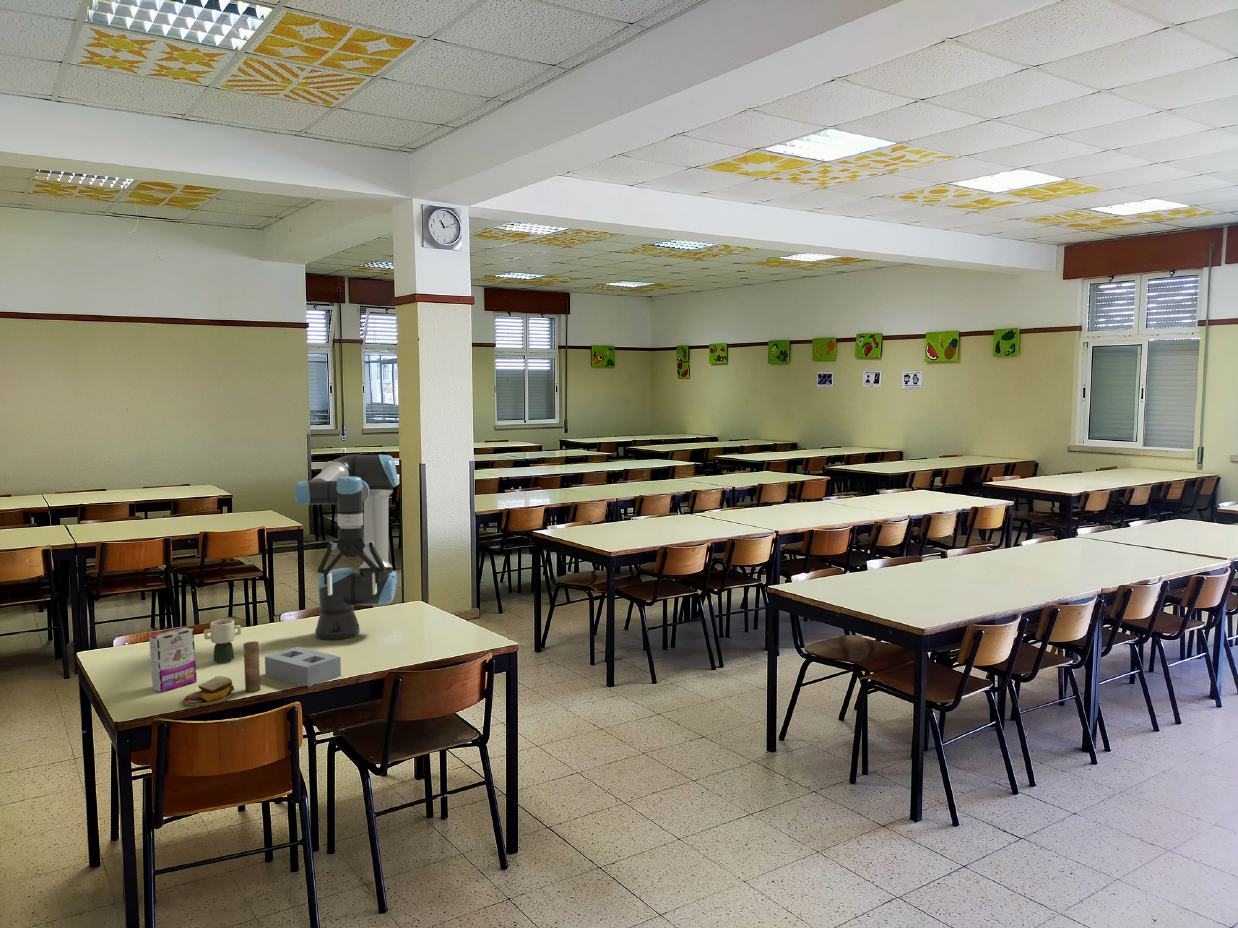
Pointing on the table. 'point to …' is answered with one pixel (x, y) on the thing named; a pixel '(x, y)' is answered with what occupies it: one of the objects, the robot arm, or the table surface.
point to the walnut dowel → (251, 667)
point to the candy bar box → (172, 659)
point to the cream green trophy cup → (222, 638)
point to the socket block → (302, 666)
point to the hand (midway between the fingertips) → (352, 594)
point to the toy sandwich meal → (211, 692)
